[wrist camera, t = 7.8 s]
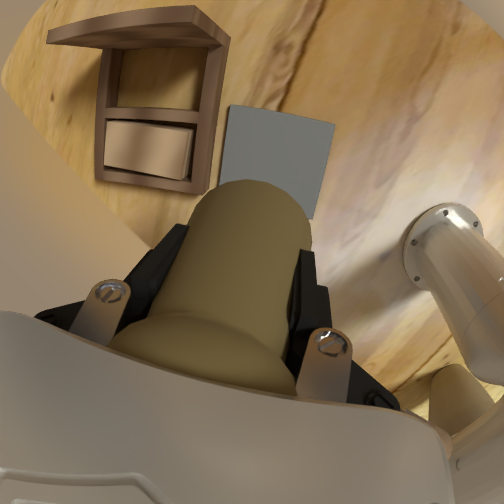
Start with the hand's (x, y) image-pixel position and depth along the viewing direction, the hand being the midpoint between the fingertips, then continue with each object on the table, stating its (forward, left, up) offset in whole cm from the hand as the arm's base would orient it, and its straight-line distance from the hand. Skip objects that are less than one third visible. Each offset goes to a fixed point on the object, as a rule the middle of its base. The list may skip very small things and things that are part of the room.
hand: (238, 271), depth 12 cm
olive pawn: (0, 0, -3) cm, 3 cm away
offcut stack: (+14, 0, -22) cm, 26 cm away
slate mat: (0, 0, -22) cm, 22 cm away
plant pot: (-42, +30, -22) cm, 56 cm away
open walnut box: (+14, -4, -22) cm, 26 cm away
